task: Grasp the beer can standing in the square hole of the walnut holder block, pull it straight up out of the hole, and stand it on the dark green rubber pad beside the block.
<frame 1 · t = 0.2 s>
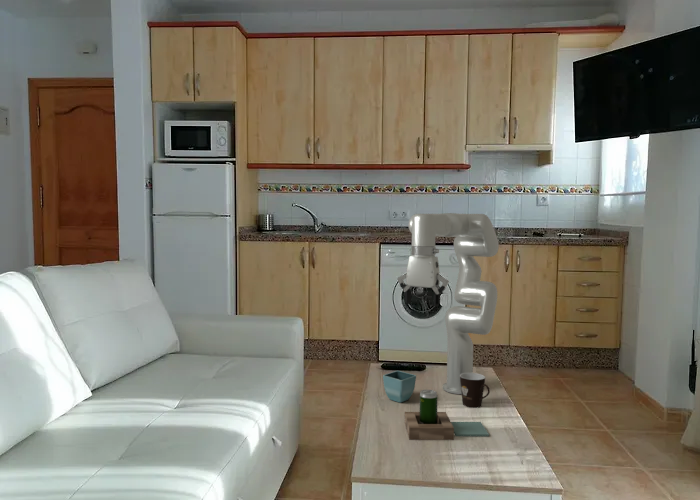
hand: (422, 304, 171), 37 cm above the table, tool pointing down, fingers open, 9 cm apart
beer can: (428, 431, 161), resting in holder block
coffee mug: (473, 406, 183), on the table
flower pot: (399, 400, 189), on the table
holder block: (428, 430, 161), on the table
rubber pad: (468, 429, 162), on the table
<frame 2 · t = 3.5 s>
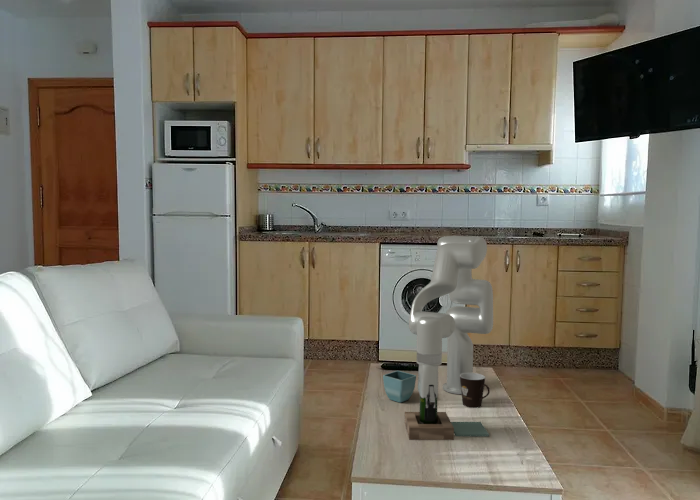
hand: (428, 416, 161), 5 cm above the table, tool pointing down, fingers closed on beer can, 5 cm apart
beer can: (428, 431, 161), resting in holder block, touching gripper
everything else where it was.
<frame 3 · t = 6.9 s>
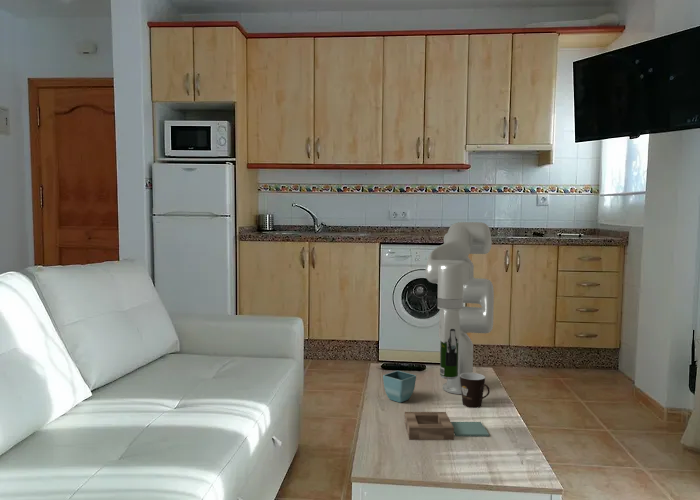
hand: (449, 362, 161), 21 cm above the table, tool pointing down, fingers closed on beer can, 5 cm apart
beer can: (448, 377, 161), point 16 cm above the table, touching gripper
everything else where it was.
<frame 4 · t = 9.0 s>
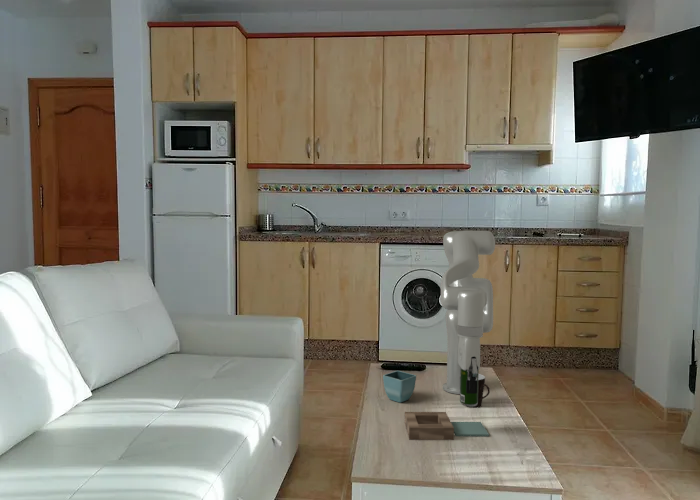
hand: (469, 389, 162), 13 cm above the table, tool pointing down, fingers closed on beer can, 5 cm apart
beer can: (468, 404, 162), point 8 cm above the table, touching gripper
everything else where it was.
when the fingers open (6 cm above the table, at t = 10.6 s): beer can drops 1 cm, resting on rubber pad.
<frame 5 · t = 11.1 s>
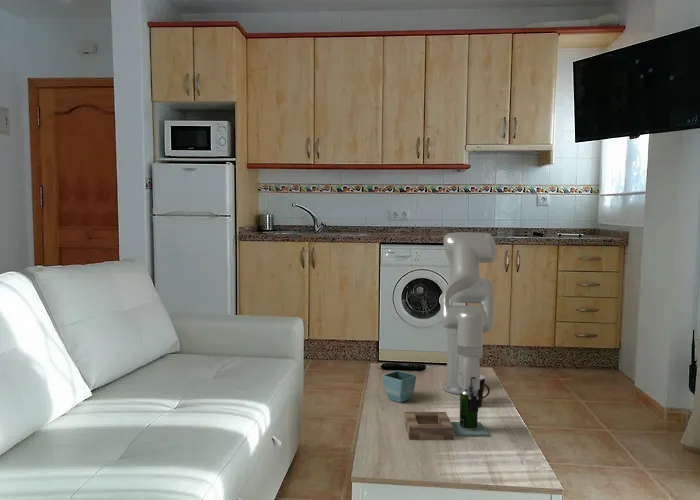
hand: (468, 406, 162), 7 cm above the table, tool pointing down, fingers open, 9 cm apart
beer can: (468, 428, 162), resting on rubber pad
everything else where it was.
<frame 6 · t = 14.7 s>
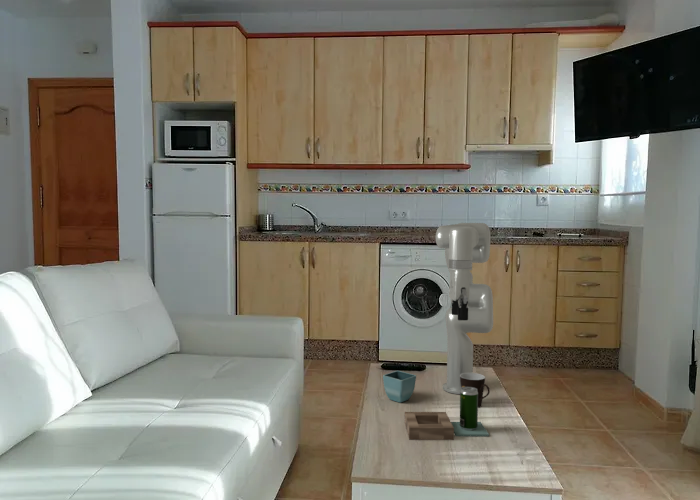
hand: (459, 317, 174), 32 cm above the table, tool pointing down, fingers open, 9 cm apart
nothing on the table moved.
at the end: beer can inside the target area on the rubber pad (0.1 cm from its centre), point 0.4 cm above the rubber pad's base; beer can tilted 0°; the gripper is holding nothing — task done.
